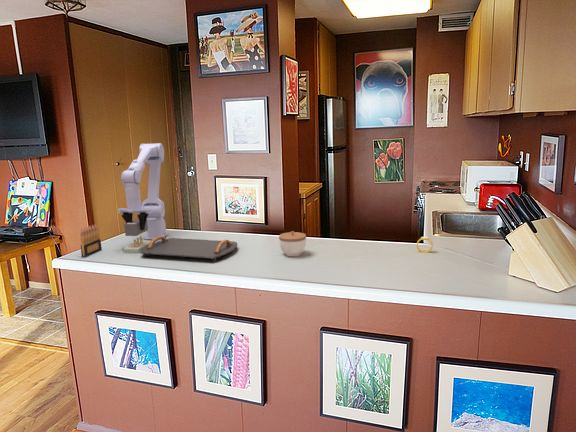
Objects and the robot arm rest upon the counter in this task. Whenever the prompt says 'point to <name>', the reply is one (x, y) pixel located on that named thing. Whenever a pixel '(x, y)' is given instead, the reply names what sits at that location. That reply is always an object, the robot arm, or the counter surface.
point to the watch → (425, 239)
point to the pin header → (136, 246)
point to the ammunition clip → (90, 241)
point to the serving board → (189, 248)
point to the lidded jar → (292, 243)
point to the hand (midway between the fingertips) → (136, 229)
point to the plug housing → (134, 228)
